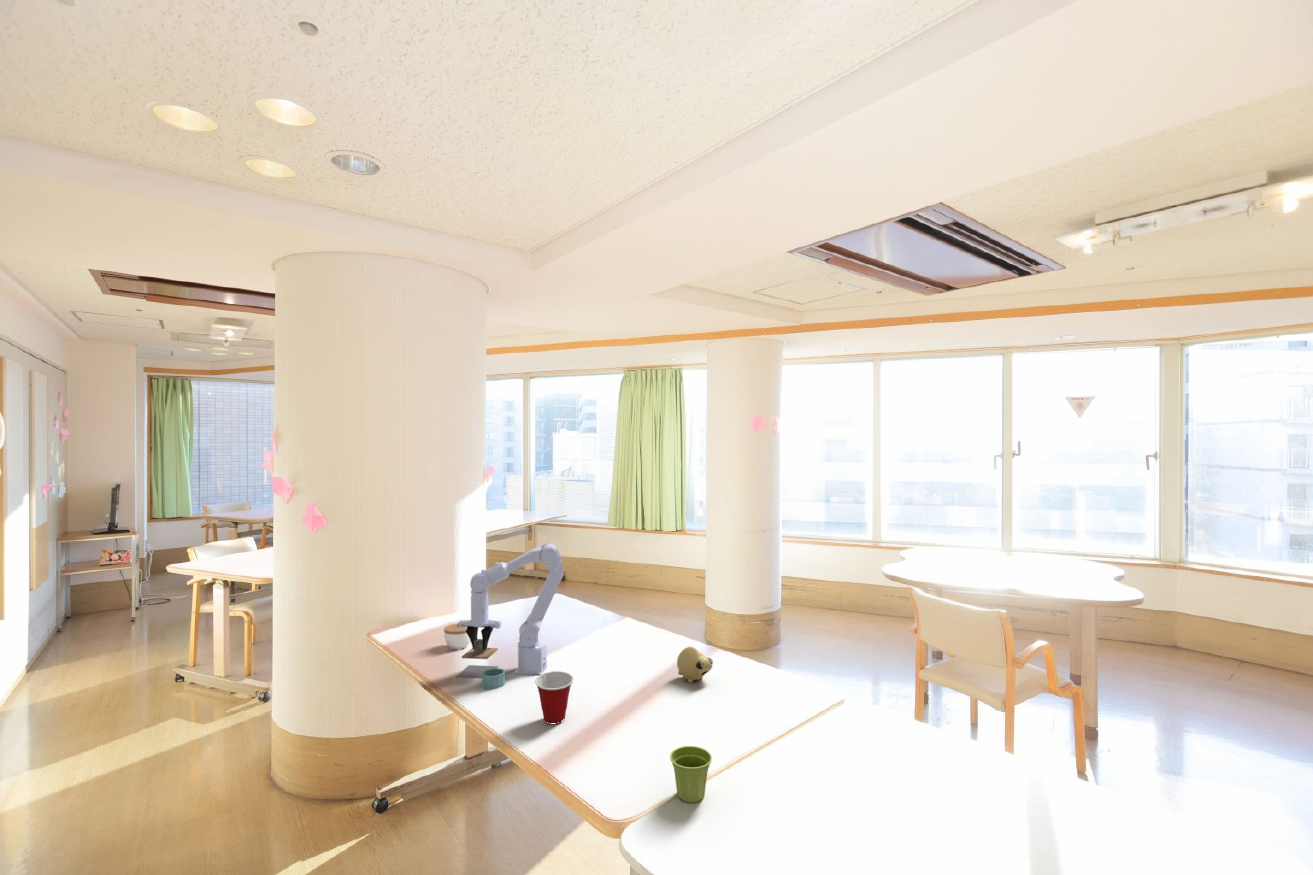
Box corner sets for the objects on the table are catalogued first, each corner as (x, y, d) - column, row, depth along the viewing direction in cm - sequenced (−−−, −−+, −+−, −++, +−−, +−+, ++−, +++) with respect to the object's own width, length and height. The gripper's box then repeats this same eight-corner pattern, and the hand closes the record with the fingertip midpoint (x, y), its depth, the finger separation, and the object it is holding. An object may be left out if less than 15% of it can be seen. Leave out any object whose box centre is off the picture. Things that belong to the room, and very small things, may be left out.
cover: (497, 649, 210) (497, 636, 210) (487, 659, 201) (487, 645, 201) (473, 648, 211) (473, 635, 211) (461, 658, 202) (461, 644, 202)
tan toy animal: (697, 689, 192) (697, 656, 192) (671, 679, 201) (671, 647, 201) (718, 681, 199) (717, 648, 199) (691, 671, 207) (691, 640, 207)
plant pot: (709, 782, 140) (709, 745, 140) (714, 807, 130) (714, 767, 130) (669, 783, 139) (668, 746, 139) (671, 808, 130) (671, 768, 130)
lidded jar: (477, 642, 238) (477, 619, 238) (466, 652, 228) (466, 627, 228) (451, 642, 239) (451, 618, 240) (439, 651, 229) (439, 626, 229)
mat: (498, 667, 212) (498, 666, 212) (486, 679, 202) (486, 678, 202) (469, 665, 214) (469, 665, 214) (454, 677, 203) (454, 677, 203)
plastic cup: (536, 731, 165) (536, 687, 165) (533, 714, 175) (533, 673, 175) (576, 726, 168) (576, 683, 168) (571, 709, 178) (571, 669, 178)
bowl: (508, 681, 200) (508, 668, 200) (500, 690, 193) (500, 676, 193) (487, 680, 200) (487, 667, 200) (479, 689, 193) (479, 676, 193)
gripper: (504, 606, 209) (504, 645, 209) (464, 605, 211) (465, 643, 211) (496, 611, 202) (496, 652, 202) (455, 610, 204) (455, 650, 204)
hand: (480, 648), depth 206 cm, fingers closed on cover, 3 cm apart
